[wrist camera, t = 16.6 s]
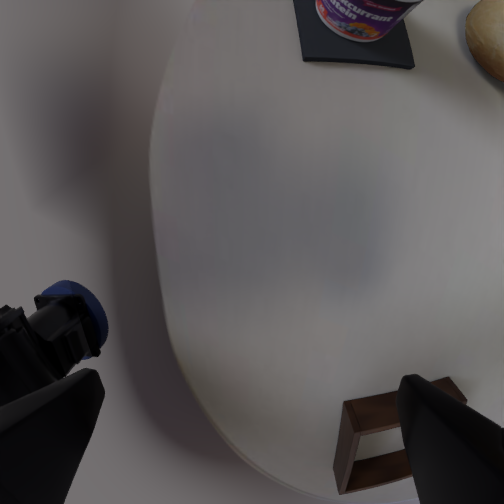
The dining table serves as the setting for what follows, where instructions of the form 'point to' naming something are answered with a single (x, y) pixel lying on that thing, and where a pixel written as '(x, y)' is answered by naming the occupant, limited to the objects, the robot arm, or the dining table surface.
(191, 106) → the dining table surface
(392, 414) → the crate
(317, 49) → the mat
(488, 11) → the bread roll
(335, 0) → the pill bottle
